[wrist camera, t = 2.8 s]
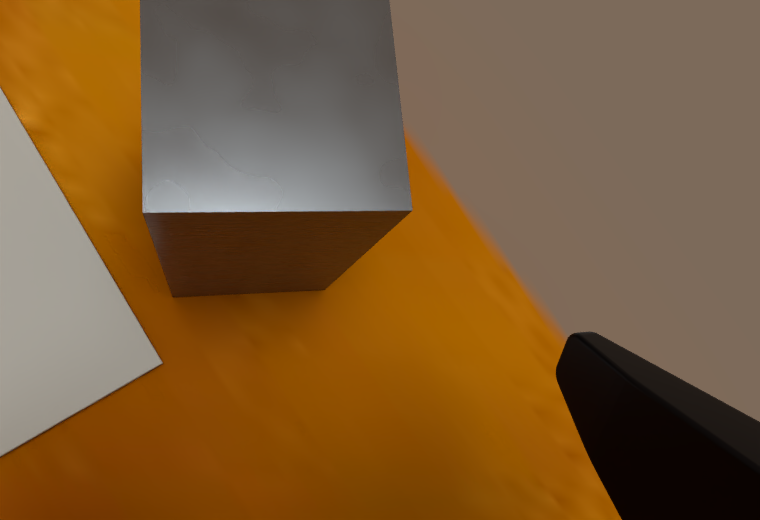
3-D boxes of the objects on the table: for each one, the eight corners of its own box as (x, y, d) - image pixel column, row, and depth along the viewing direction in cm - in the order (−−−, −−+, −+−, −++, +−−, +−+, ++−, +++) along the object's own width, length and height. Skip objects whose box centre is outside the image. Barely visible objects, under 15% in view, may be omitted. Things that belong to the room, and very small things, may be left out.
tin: (324, 289, 22) (412, 210, 12) (173, 297, 20) (142, 212, 11) (314, 155, 23) (388, -11, 14) (169, 152, 21) (139, -38, 12)
